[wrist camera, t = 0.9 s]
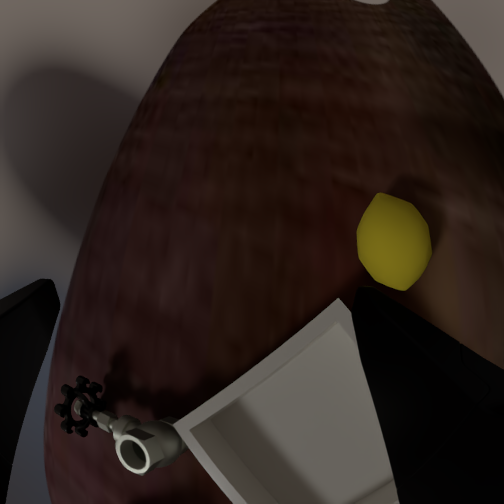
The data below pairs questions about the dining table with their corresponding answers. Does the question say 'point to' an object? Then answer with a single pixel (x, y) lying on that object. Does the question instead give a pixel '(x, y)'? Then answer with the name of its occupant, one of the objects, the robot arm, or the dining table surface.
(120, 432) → the valve
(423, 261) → the lemon
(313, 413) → the walled box
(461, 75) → the dining table surface
